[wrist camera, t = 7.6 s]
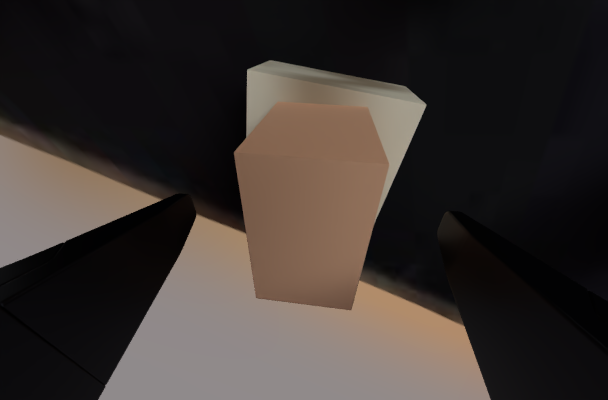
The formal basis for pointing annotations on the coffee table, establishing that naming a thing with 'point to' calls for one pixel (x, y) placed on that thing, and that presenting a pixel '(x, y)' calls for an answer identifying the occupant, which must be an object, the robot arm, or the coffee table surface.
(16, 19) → the coffee table surface
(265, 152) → the terracotta brick
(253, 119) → the birch block
